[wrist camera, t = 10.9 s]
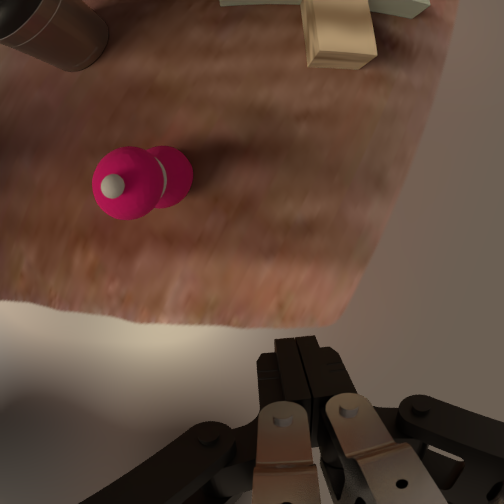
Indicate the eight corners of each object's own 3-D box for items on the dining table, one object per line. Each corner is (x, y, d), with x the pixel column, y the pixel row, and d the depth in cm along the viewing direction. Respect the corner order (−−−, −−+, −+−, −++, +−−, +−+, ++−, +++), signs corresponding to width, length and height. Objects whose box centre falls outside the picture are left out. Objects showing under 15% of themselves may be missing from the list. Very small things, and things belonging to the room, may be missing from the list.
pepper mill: (183, 138, 39) (132, 116, 19) (206, 189, 40) (174, 212, 21) (134, 163, 39) (52, 166, 20) (156, 212, 41) (90, 254, 22)
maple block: (357, 70, 37) (377, 55, 30) (307, 67, 37) (319, 50, 30) (348, 9, 34) (364, -13, 27) (300, 5, 34) (309, -19, 27)
